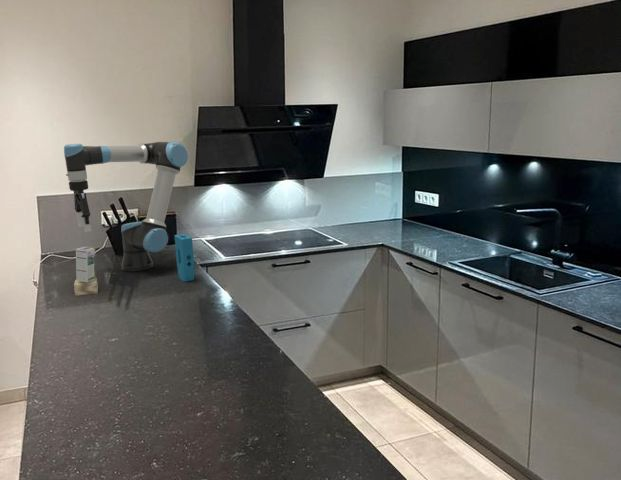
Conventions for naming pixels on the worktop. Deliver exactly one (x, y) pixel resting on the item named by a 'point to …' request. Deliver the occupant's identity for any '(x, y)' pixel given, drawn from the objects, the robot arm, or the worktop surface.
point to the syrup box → (85, 264)
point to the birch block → (85, 287)
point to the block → (184, 257)
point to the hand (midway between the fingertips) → (84, 229)
